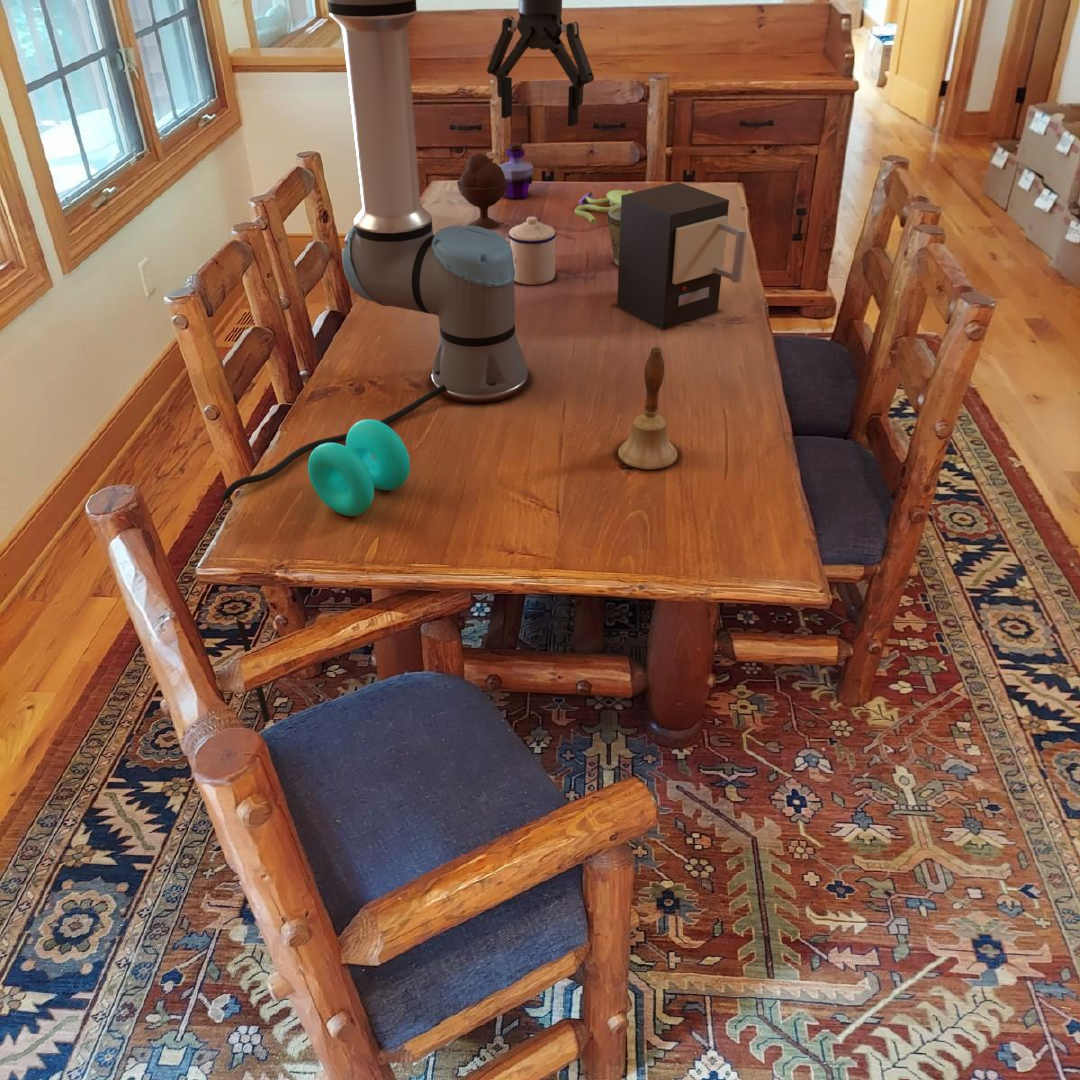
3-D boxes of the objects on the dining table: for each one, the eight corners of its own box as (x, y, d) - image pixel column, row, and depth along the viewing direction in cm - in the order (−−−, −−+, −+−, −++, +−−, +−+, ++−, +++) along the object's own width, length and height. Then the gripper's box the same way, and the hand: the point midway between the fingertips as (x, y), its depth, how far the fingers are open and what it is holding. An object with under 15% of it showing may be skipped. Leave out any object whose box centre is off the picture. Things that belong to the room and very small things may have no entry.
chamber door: (746, 280, 164) (753, 225, 158) (698, 295, 159) (703, 239, 153) (719, 269, 168) (724, 215, 163) (671, 283, 163) (675, 228, 158)
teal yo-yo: (309, 505, 125) (297, 439, 119) (361, 471, 132) (352, 406, 126) (367, 530, 120) (357, 462, 114) (417, 493, 127) (411, 427, 121)
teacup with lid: (559, 270, 191) (559, 211, 184) (552, 287, 184) (551, 226, 177) (500, 267, 193) (498, 208, 186) (491, 283, 186) (488, 223, 179)
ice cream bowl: (453, 231, 210) (448, 160, 202) (470, 215, 219) (467, 146, 210) (498, 235, 208) (496, 163, 199) (514, 219, 216) (512, 149, 208)
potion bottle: (541, 197, 229) (540, 144, 222) (510, 203, 226) (508, 150, 219) (522, 188, 235) (521, 136, 228) (492, 194, 232) (490, 142, 224)
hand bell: (640, 433, 139) (646, 330, 130) (688, 452, 135) (698, 347, 125) (606, 457, 134) (610, 351, 124) (655, 477, 130) (663, 369, 120)
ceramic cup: (649, 274, 189) (652, 223, 183) (600, 268, 192) (601, 218, 186) (664, 251, 199) (667, 203, 193) (617, 246, 201) (619, 198, 195)
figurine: (573, 239, 205) (574, 213, 202) (576, 200, 227) (576, 176, 223) (660, 240, 205) (662, 213, 201) (654, 200, 226) (656, 176, 223)
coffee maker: (719, 312, 173) (731, 200, 162) (664, 330, 168) (673, 215, 156) (670, 289, 182) (678, 181, 171) (616, 305, 177) (621, 195, 165)
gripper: (616, -10, 162) (609, 124, 174) (487, -18, 171) (490, 109, 183) (598, -6, 157) (592, 132, 169) (466, -14, 166) (470, 117, 178)
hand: (539, 120), depth 176 cm, fingers open, 13 cm apart
